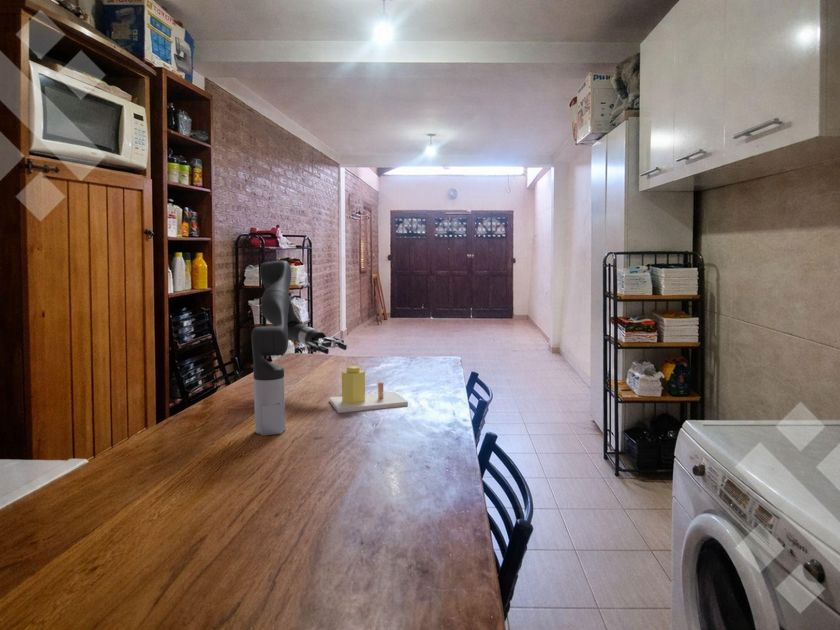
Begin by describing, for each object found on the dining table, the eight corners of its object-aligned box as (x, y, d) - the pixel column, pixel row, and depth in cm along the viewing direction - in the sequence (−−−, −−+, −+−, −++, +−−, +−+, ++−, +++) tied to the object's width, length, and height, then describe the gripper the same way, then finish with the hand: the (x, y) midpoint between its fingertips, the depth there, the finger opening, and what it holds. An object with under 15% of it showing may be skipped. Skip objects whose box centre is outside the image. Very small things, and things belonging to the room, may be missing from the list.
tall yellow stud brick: (365, 400, 195) (364, 367, 194) (353, 404, 190) (352, 370, 189) (353, 397, 199) (353, 365, 198) (342, 401, 194) (341, 367, 193)
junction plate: (407, 405, 194) (407, 385, 193) (338, 412, 185) (337, 392, 184) (394, 395, 209) (394, 376, 208) (329, 401, 200) (329, 382, 199)
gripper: (297, 331, 204) (322, 343, 193) (326, 326, 214) (352, 337, 203) (296, 350, 206) (321, 362, 195) (326, 343, 216) (351, 355, 205)
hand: (337, 349), depth 199 cm, fingers open, 8 cm apart
